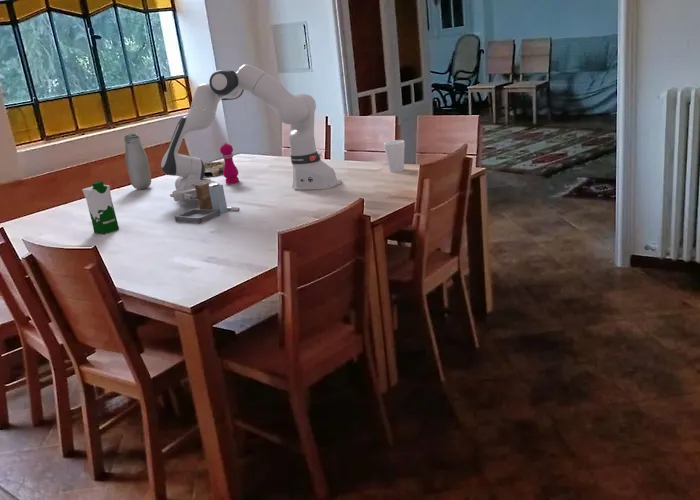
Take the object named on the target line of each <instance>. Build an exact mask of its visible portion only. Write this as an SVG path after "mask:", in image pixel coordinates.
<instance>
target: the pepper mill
mask: <svg viewBox="0 0 700 500" xmlns="http://www.w3.org/2000/svg"><path fill="white" fill-rule="evenodd" d="M219 151H220V154H222V155H221V156H222V159H223V161H224V162H225V166H224V170H223V172H222V176H223V177H224V178H225V183H226V184H228V185H229V184H236V183H238V182H240V180H239V177H238V176H239V169H238V168H237V166H236V165H235V163H234V160H233V158H234V155H233V151H234V148H233V146H232V145H231V144H229V143H228V142H227V140H223V145H221V146H220V148H219Z"/></svg>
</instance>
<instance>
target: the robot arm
mask: <svg viewBox="0 0 700 500" xmlns="http://www.w3.org/2000/svg"><path fill="white" fill-rule="evenodd" d="M208 82H209V83H201V84H199V85H197V87H196V88H195V91H194V94H193V97H192V101H191V104H190V109H189V110H188V113H187V114H186V115H185V116H181V118H180V119H179V121H178V122H177V124H176V127H175V129H174V132H173V135H172V137H171V138H170V142H169V144H168V147H167V149H166V151H165V153H164V155H163V157H162V159H161V163H160V168H161V170H162V171H163V173H165V175H167V176H173V177H175V176H177V178H176V179H175V182H174V186H175V189H176V190H173V191H172V193H171V194H169V197H171V198H173V200H174V202H177V203H180V202H182V201H187V200H190V201H196V200H197V195H196V190H195V185H196V184H199V183H209V187H210V186H213V185H221V184H220V183H219V182H218V181H216V180H212V179H211V178H210V177H209V178H203V177H204V176H205V174H206V172H205V166H204V163H205V162H204V161H203V160H202V158H200V157H196V156H192V155H186V154H182V153H179V149H180V147H181V145H182V142H183V140H184V137H185V136H187V134H189V133H191V132H197V131H202V130H206V129H208V128H209V127H211V126H212V125H213V123H215V122H214V121H215V119H216V114H217V109H218V105H219V102H220V101H231V100H237V99H239V98H241V97H242V95H243V93H244V91H246V92H247V93H250V94H251V95H253V96H254V97H256V98H257V99H258V100H260V101H261V102H263V103H264V104H266V105H267V106H269V108H270V109H272V111H273V112H274V113H275V114H276V115H277V118H278V119H279V120H280V121H281V122H282V123H284V124H286V125H290V128H289V130H290V132H289V134H288V142H289V149H290V160H291V161H290V162H291V165H292V173H293V175H292V176H293V177H292V178H293V179H292V181H293V182H292V185H291V186H292V188H293V189H294V191H302V190H304V191H305V190H309V191H310V190H326V189H327V190H328V189H331V188H334V187H337V186H338V185H340V184H341V183H342V182H343V180H342V178H337V175H336V172H335V169H334V168H333V167H331V166H330V165H328V164H327V163H325V162H324V161H323V160H322V159H321V157H322V156H323V155H322V152H321V153H319V152H318V151H317V145H316V139H315V111H316V108H317V104H316V100H315V98H314V97H312V95H309V94H306V93H298V94H295V95H294V94H291V92H290V91H289V90H287V89H286V88H285V86H284V84H283V82H282V81H279V80H278V79H277V78H275V77H273V76H272V75H270V74H269V73H267V72H266V71H264V70H262V69H261V68H259V67H256V66H254V65H251V64H250V63H249V64H248V63H246V64H243V65H241V66H240V67H239V68H238V70H237V71H236V72H235V70H229V69H228V70H226V69H225V70H224V69H222V70H216V71H214V72H213V73H212V74H211V76H210V77H209V81H208ZM197 201H198V200H197Z"/></svg>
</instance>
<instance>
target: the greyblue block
mask: <svg viewBox="0 0 700 500" xmlns="http://www.w3.org/2000/svg"><path fill="white" fill-rule="evenodd" d="M209 192H210V197H211V202H212V207H213V209H212V210H219V212H220V215H222V214H223V213H224V214H225V213H226V212H229V211H228V210H227V207H228V206H227V200H226V195H225V190H224V185H223V184H220V185H213V186H210V187H209Z"/></svg>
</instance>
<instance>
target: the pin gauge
mask: <svg viewBox="0 0 700 500" xmlns="http://www.w3.org/2000/svg"><path fill="white" fill-rule="evenodd" d="M227 210H228V211H227V212H239V210H241V209H240V207H234V206H227Z"/></svg>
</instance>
